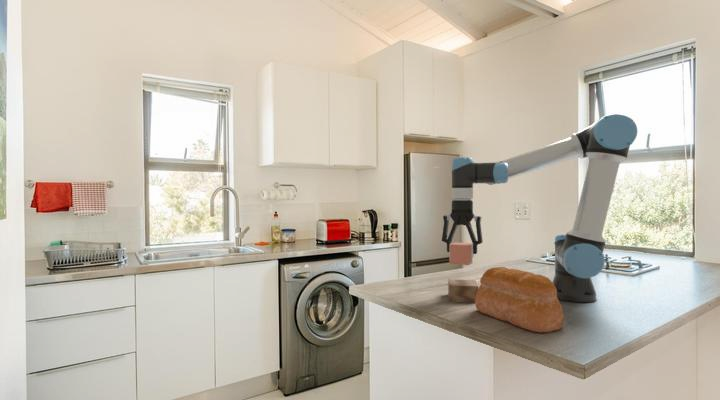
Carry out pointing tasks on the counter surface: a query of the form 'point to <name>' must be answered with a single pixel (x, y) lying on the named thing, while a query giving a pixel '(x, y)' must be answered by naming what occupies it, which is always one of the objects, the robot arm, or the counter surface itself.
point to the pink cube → (460, 253)
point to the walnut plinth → (462, 290)
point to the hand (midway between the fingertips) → (461, 261)
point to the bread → (520, 299)
